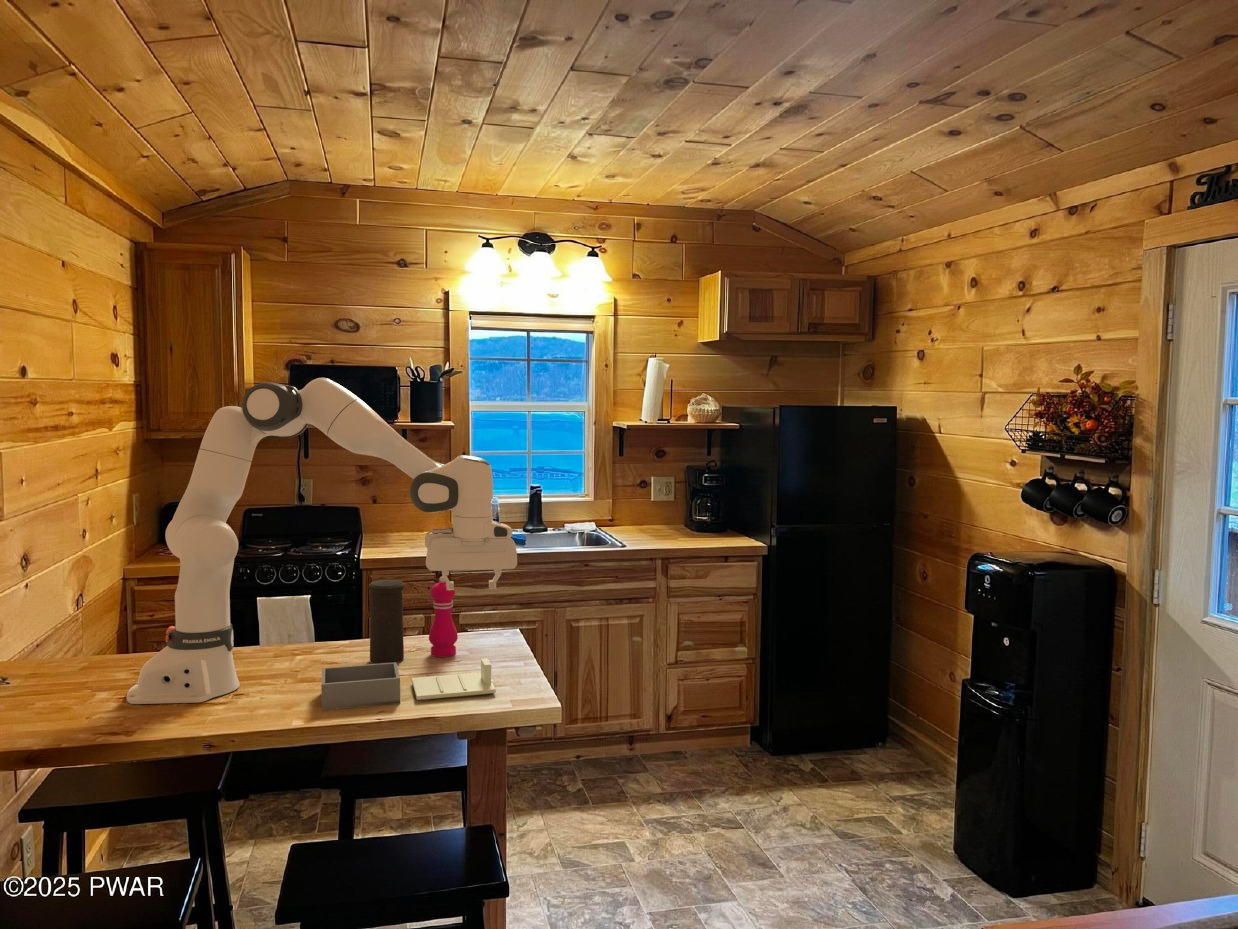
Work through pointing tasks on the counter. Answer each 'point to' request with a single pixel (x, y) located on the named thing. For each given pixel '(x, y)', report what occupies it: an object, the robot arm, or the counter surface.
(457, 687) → the lid
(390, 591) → the container
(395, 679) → the tub
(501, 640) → the counter surface
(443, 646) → the pepper mill
